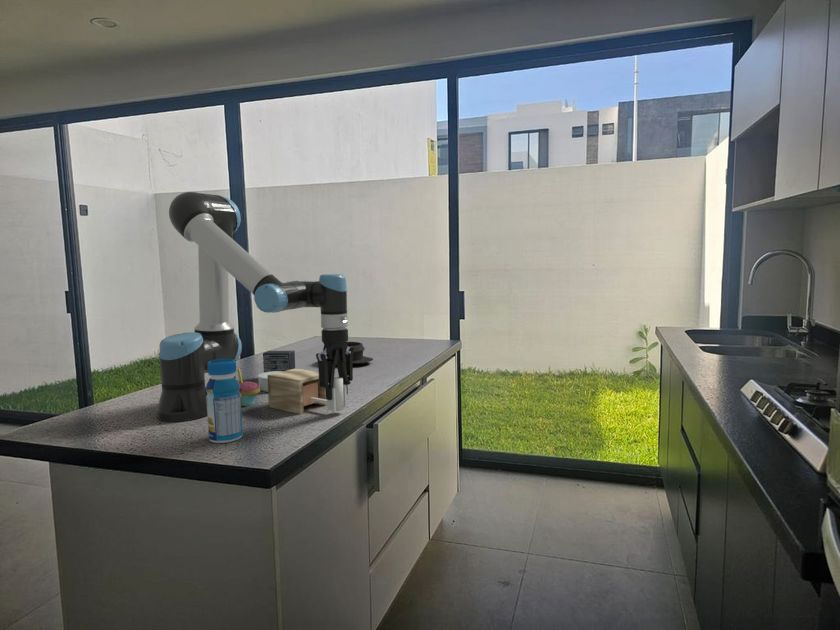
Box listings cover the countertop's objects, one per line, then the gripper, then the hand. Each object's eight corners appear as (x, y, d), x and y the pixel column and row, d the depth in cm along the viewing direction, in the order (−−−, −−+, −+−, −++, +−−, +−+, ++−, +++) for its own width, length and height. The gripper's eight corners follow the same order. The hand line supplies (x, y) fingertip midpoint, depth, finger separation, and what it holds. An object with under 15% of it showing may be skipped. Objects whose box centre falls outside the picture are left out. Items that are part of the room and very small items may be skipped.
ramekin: (279, 394, 184) (278, 378, 183) (251, 392, 187) (250, 376, 186) (297, 386, 194) (296, 371, 193) (270, 384, 198) (269, 370, 197)
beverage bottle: (230, 445, 133) (226, 364, 131) (200, 442, 136) (196, 363, 134) (250, 434, 142) (246, 358, 139) (221, 432, 144) (217, 357, 142)
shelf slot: (300, 414, 159) (299, 380, 158) (268, 407, 167) (267, 375, 166) (328, 405, 169) (327, 373, 167) (296, 398, 177) (295, 368, 175)
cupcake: (231, 408, 166) (229, 369, 165) (232, 401, 174) (230, 364, 173) (260, 406, 168) (258, 368, 167) (260, 399, 177) (259, 362, 175)
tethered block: (334, 412, 155) (333, 381, 154) (289, 403, 166) (288, 374, 165) (349, 407, 160) (348, 377, 159) (304, 398, 170) (303, 370, 170)
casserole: (381, 361, 237) (381, 342, 236) (357, 370, 221) (357, 349, 220) (334, 357, 248) (333, 339, 248) (308, 365, 232) (307, 345, 231)
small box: (296, 377, 209) (295, 349, 208) (291, 380, 203) (289, 353, 202) (269, 376, 210) (268, 349, 209) (263, 380, 204) (262, 352, 203)
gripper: (322, 332, 147) (325, 417, 149) (364, 325, 161) (366, 403, 163) (303, 331, 151) (306, 413, 154) (345, 324, 165) (347, 399, 168)
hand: (337, 408), depth 159 cm, fingers closed on tethered block, 4 cm apart
